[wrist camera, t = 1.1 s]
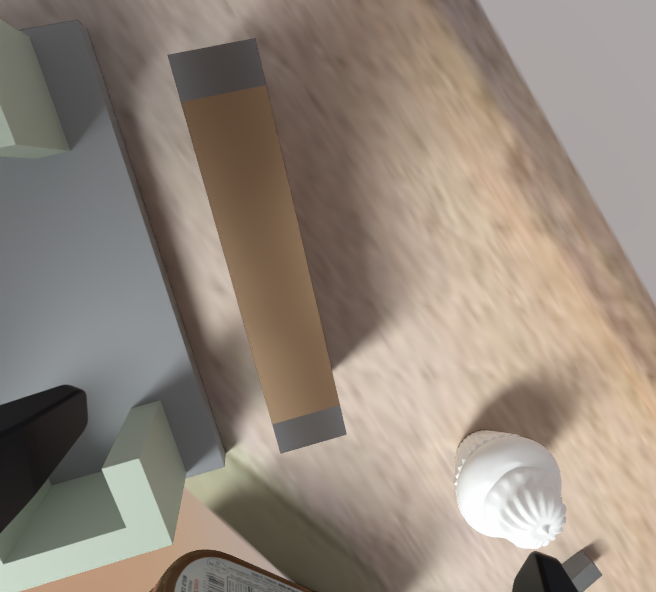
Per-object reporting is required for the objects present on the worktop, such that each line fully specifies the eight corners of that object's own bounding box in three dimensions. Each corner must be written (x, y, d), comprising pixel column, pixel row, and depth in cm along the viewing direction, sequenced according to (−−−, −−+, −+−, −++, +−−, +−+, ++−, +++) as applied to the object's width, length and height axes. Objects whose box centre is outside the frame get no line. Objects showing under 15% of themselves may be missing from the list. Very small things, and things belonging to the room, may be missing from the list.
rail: (272, 391, 26) (280, 453, 20) (188, 86, 21) (167, 54, 15) (324, 377, 26) (346, 434, 20) (252, 74, 21) (255, 38, 16)
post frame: (6, 517, 25) (-67, 624, 19) (-217, 83, 18) (-433, 41, 13) (225, 454, 26) (220, 535, 20) (87, 28, 20) (20, -33, 14)
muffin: (541, 437, 30) (626, 512, 23) (482, 507, 31) (548, 601, 24) (474, 391, 28) (546, 459, 21) (413, 467, 29) (465, 556, 22)
